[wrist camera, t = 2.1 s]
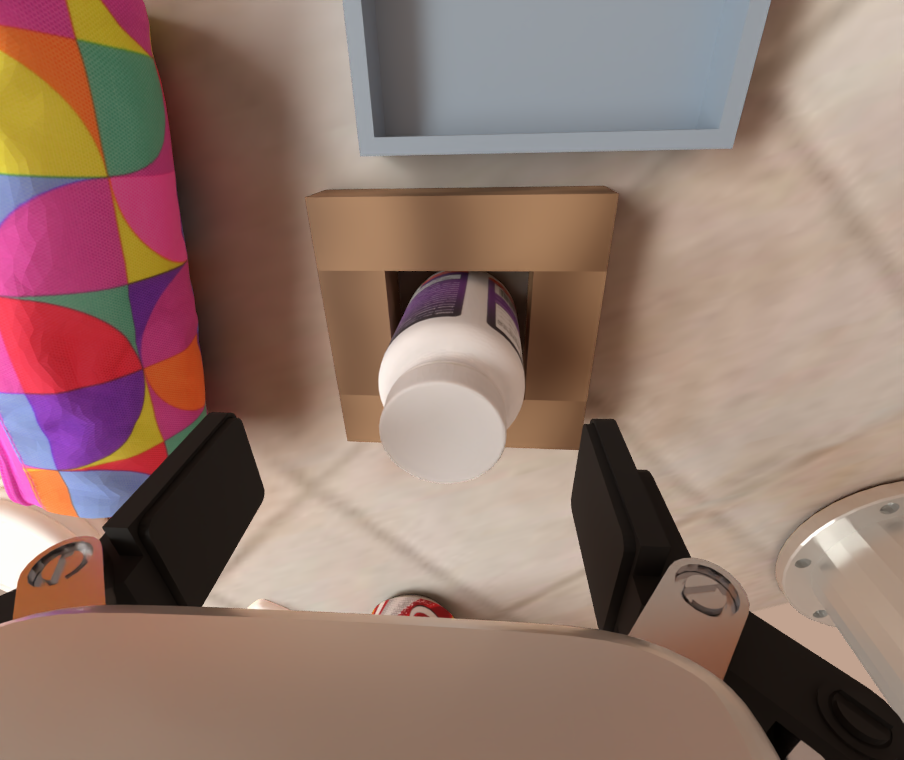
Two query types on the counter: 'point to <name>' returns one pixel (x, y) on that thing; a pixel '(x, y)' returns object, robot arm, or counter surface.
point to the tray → (549, 74)
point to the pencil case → (89, 260)
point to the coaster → (34, 535)
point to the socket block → (468, 249)
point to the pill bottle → (452, 378)
